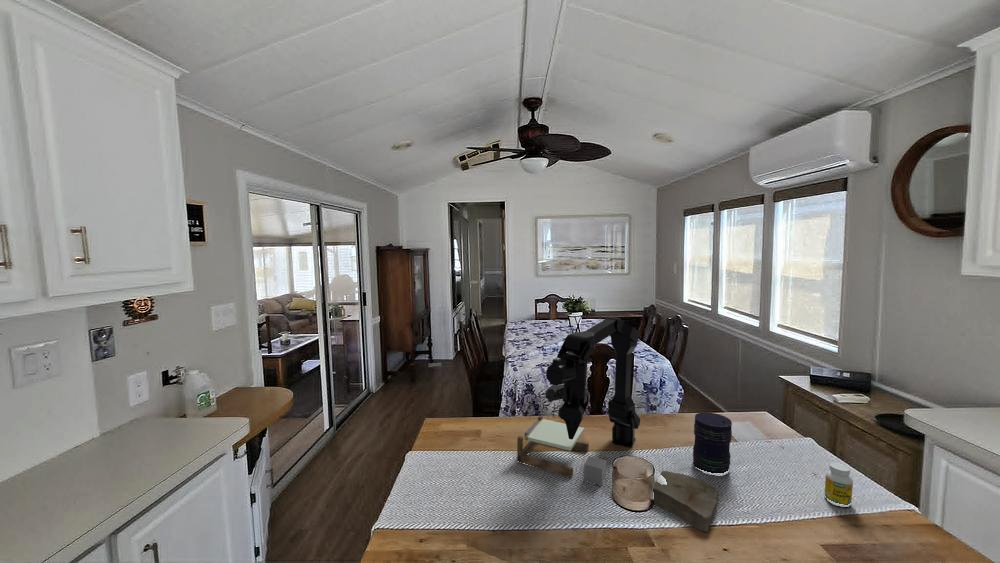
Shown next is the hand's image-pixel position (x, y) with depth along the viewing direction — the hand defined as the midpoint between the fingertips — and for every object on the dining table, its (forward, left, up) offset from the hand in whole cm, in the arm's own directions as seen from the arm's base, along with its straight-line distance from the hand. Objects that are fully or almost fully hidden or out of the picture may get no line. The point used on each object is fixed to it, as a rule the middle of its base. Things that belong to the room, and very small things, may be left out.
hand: (573, 432), depth 115 cm
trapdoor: (+9, -7, -6) cm, 12 cm away
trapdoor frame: (+8, -7, -13) cm, 17 cm away
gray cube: (-6, -1, -13) cm, 14 cm away
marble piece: (-29, -1, -13) cm, 32 cm away
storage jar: (-35, -23, -13) cm, 44 cm away
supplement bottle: (-64, -20, -13) cm, 68 cm away
